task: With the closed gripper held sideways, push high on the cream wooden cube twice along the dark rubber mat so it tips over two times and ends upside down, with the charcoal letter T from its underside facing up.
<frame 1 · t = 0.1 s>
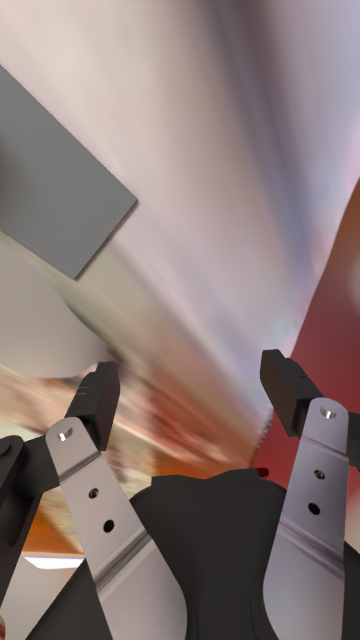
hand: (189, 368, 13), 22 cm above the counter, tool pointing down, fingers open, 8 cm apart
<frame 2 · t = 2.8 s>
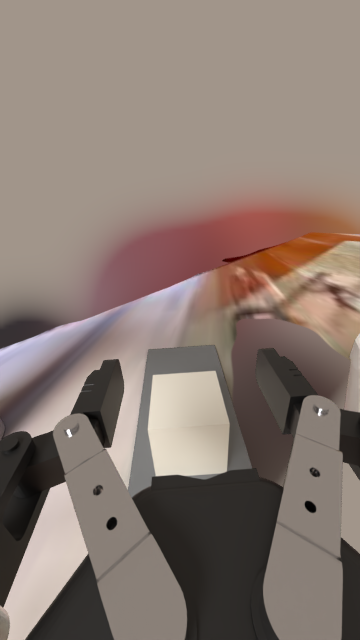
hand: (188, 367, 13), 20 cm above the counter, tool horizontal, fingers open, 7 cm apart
letter cube: (188, 443, 30), resting on rubber mat
rubber mat: (185, 398, 38), on the counter
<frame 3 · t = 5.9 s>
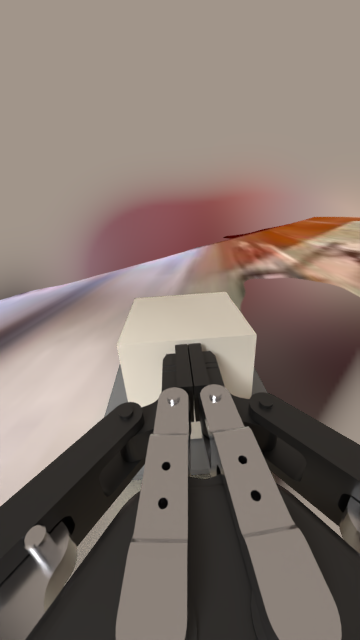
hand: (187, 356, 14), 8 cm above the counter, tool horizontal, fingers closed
letter cube: (188, 398, 20), point 1 cm above the counter, touching gripper, rubber mat
rubber mat: (183, 352, 28), on the counter
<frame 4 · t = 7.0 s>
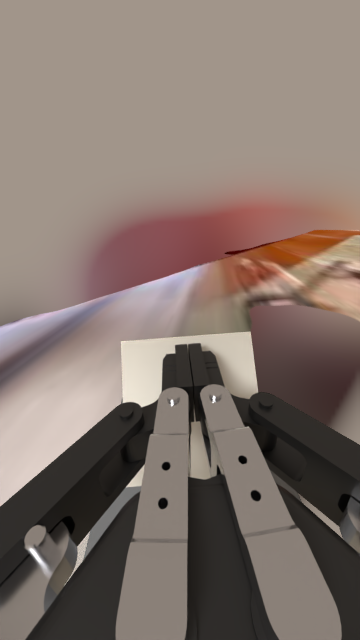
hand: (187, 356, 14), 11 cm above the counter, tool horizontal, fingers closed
letter cube: (193, 453, 17), point 3 cm above the counter, tilted 35°, touching gripper, rubber mat
rubber mat: (187, 406, 25), on the counter
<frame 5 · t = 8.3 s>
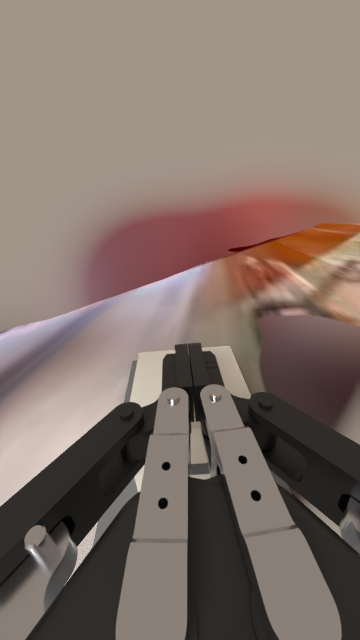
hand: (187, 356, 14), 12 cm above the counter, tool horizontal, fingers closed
letter cube: (195, 470, 15), point 4 cm above the counter, tilted 90°, touching rubber mat
rubber mat: (192, 454, 21), on the counter
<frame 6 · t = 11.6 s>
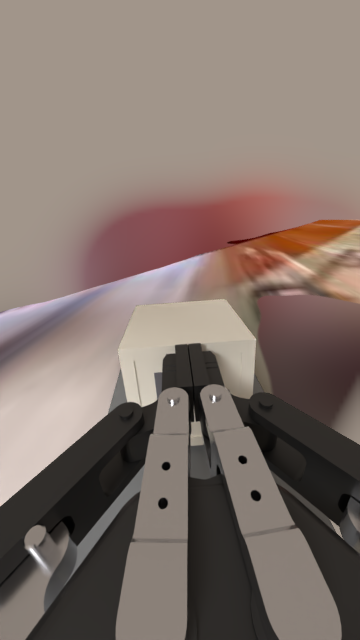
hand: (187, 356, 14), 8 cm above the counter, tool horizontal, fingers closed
letter cube: (190, 400, 15), point 5 cm above the counter, tilted 95°, touching gripper, rubber mat
rubber mat: (189, 412, 21), on the counter
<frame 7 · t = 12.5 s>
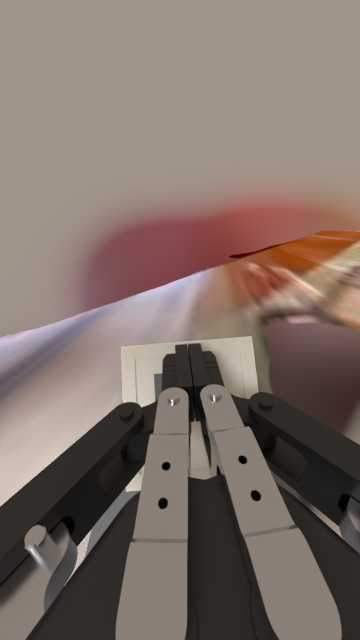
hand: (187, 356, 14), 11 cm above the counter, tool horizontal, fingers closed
letter cube: (192, 409, 14), point 8 cm above the counter, tilted 124°, touching gripper, rubber mat
rubber mat: (195, 489, 18), on the counter
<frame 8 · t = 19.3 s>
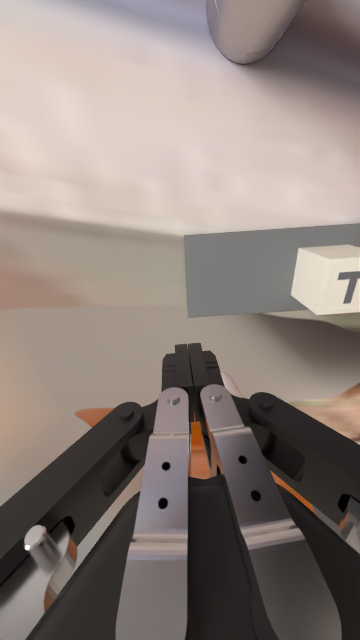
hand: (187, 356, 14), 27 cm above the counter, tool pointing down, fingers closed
letter cube: (351, 286, 32), point 9 cm above the counter, tilted 180°, touching rubber mat
rubber mat: (269, 273, 40), on the counter
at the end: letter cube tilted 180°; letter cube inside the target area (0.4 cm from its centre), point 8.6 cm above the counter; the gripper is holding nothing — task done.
